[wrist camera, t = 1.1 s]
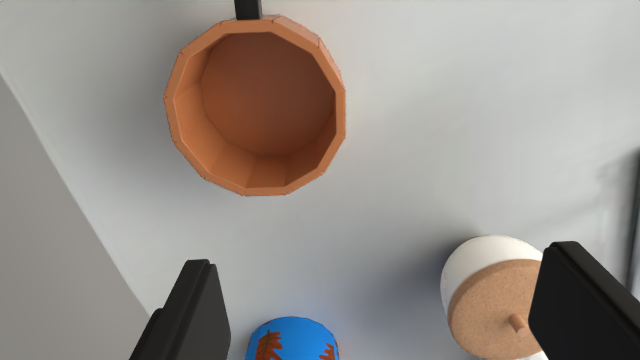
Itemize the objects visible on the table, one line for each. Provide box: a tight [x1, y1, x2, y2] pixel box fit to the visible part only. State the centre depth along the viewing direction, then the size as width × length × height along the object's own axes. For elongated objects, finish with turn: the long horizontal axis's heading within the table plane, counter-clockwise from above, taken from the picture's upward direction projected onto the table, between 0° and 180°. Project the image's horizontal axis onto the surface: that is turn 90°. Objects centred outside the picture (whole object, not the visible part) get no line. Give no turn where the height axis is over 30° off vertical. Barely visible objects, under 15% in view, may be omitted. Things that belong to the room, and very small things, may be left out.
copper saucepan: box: [163, 0, 346, 196], centre depth 28 cm, size 20×12×7 cm, turn 2°
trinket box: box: [440, 235, 543, 360], centre depth 36 cm, size 11×11×9 cm
